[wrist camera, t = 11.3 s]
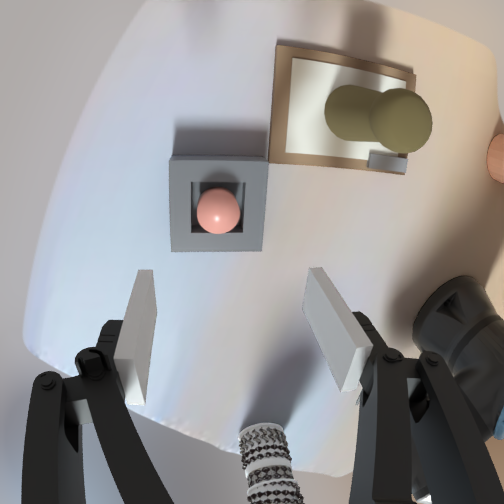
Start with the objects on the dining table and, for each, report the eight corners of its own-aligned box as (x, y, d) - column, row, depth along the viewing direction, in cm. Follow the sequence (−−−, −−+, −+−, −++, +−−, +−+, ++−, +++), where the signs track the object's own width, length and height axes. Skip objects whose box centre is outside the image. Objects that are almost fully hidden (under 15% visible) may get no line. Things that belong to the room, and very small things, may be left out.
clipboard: (412, 75, 29) (419, 74, 28) (400, 173, 34) (407, 176, 33) (275, 46, 27) (278, 44, 25) (267, 161, 32) (270, 164, 31)
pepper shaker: (331, 76, 28) (389, 70, 18) (382, 95, 29) (450, 100, 19) (318, 133, 30) (370, 150, 20) (369, 147, 32) (432, 171, 22)
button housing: (262, 156, 32) (268, 162, 29) (257, 239, 35) (261, 251, 33) (171, 155, 30) (168, 160, 27) (173, 239, 34) (171, 252, 31)
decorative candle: (275, 415, 50) (309, 546, 28) (292, 435, 54) (325, 549, 32) (227, 431, 51) (246, 560, 29) (248, 450, 55) (270, 562, 33)
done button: (238, 186, 30) (241, 193, 28) (236, 224, 32) (239, 233, 30) (197, 186, 30) (197, 193, 27) (197, 224, 31) (197, 234, 29)
